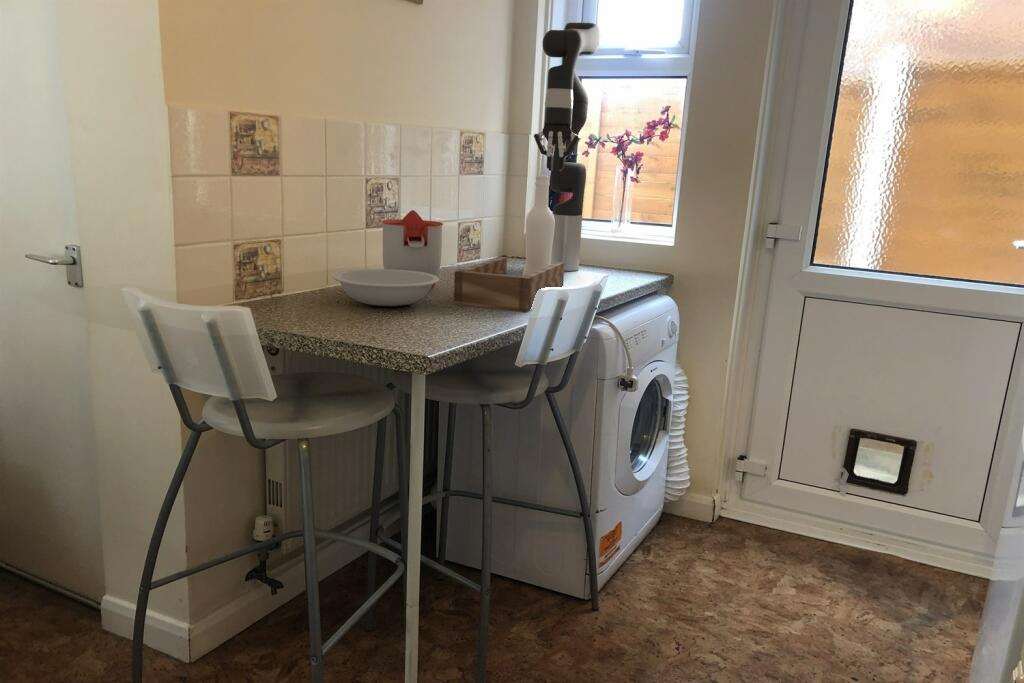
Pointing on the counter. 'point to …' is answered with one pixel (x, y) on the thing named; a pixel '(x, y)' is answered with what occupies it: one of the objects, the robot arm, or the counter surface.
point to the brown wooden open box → (503, 285)
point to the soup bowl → (386, 285)
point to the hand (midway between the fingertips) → (555, 170)
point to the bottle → (539, 229)
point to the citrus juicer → (412, 244)
